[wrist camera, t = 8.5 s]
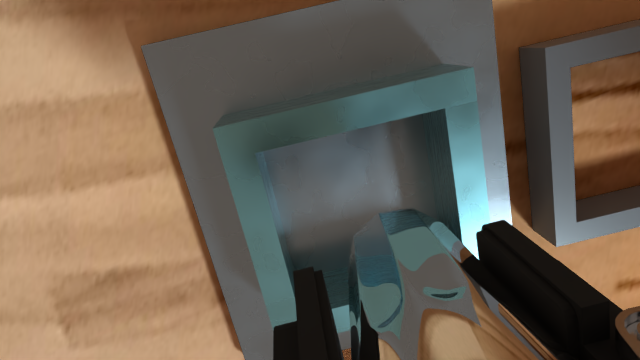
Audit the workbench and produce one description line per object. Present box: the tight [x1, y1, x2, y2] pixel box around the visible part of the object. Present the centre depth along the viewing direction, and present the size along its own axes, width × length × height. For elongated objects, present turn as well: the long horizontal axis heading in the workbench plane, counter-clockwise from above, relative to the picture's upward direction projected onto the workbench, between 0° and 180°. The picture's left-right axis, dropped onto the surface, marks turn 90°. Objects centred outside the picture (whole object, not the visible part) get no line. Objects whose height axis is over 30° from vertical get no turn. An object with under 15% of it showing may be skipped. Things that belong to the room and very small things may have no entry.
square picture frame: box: [519, 19, 640, 247], centre depth 20 cm, size 9×9×2 cm
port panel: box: [141, 0, 512, 360], centre depth 19 cm, size 14×16×4 cm
